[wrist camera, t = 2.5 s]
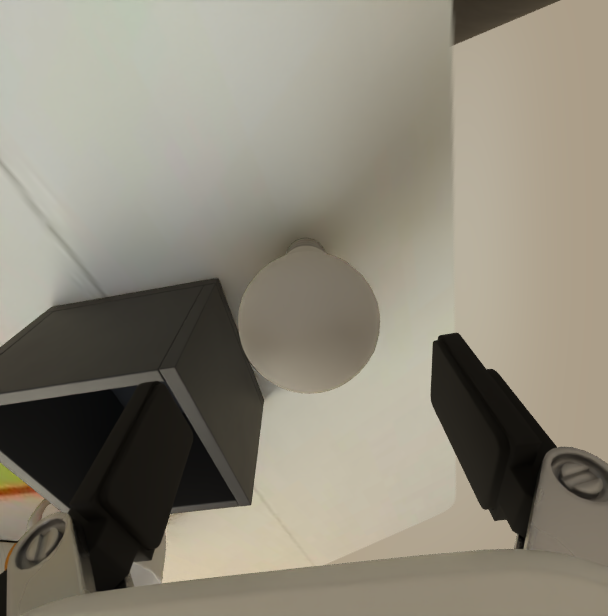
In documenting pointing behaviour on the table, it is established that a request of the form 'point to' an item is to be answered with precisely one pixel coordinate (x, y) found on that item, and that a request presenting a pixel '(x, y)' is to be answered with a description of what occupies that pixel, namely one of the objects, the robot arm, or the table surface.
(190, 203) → the table surface
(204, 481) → the bin
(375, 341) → the lightbulb
